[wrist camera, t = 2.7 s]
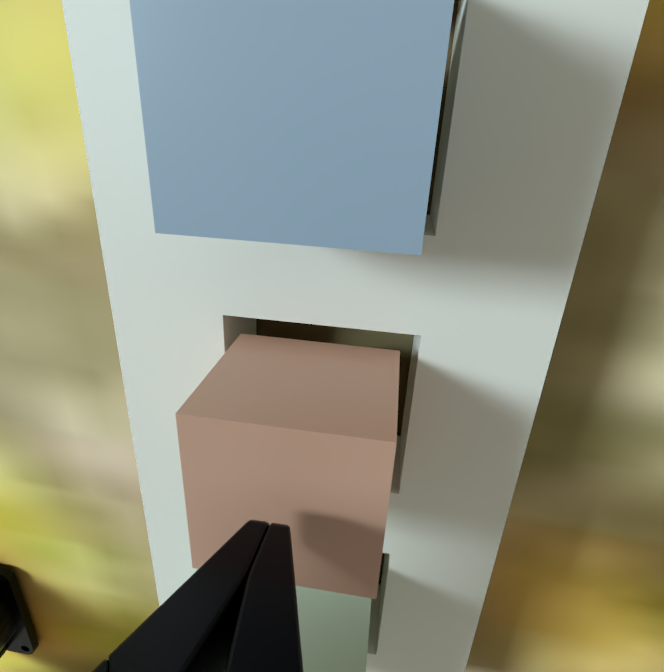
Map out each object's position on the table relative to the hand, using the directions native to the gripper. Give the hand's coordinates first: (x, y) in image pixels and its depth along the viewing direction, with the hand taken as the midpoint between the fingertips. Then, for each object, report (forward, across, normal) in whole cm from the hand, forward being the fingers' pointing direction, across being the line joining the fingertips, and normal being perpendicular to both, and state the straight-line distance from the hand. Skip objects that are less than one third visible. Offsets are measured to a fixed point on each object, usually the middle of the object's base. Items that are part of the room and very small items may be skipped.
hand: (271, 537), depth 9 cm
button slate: (+5, 0, -8) cm, 9 cm away
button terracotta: (+5, 0, 0) cm, 5 cm away
